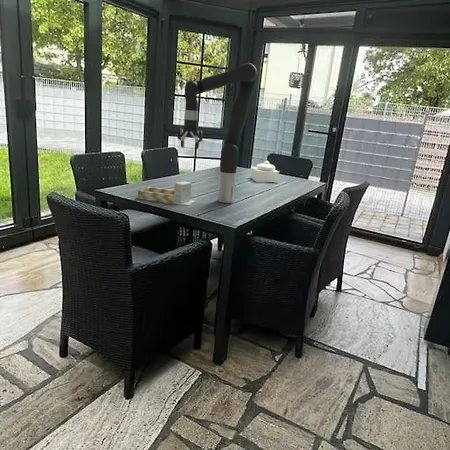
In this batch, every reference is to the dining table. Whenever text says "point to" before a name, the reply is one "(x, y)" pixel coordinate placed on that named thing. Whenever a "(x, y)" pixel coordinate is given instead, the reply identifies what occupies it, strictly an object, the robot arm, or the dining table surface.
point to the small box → (182, 192)
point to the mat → (185, 203)
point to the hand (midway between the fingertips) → (189, 148)
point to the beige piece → (157, 194)
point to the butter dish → (264, 173)
